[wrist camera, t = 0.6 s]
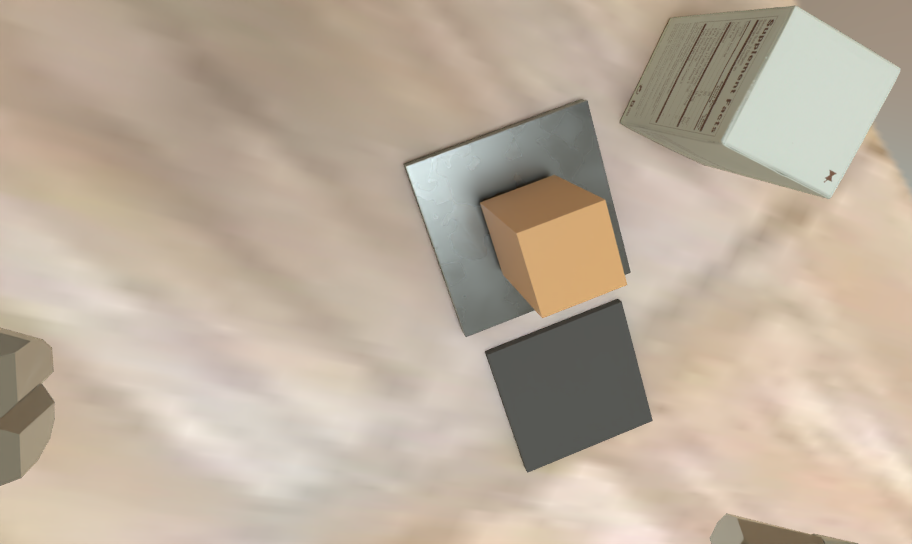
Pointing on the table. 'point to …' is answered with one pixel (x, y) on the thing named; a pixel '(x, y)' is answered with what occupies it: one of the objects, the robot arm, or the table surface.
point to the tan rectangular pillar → (554, 244)
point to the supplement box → (762, 95)
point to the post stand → (489, 175)
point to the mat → (570, 385)
